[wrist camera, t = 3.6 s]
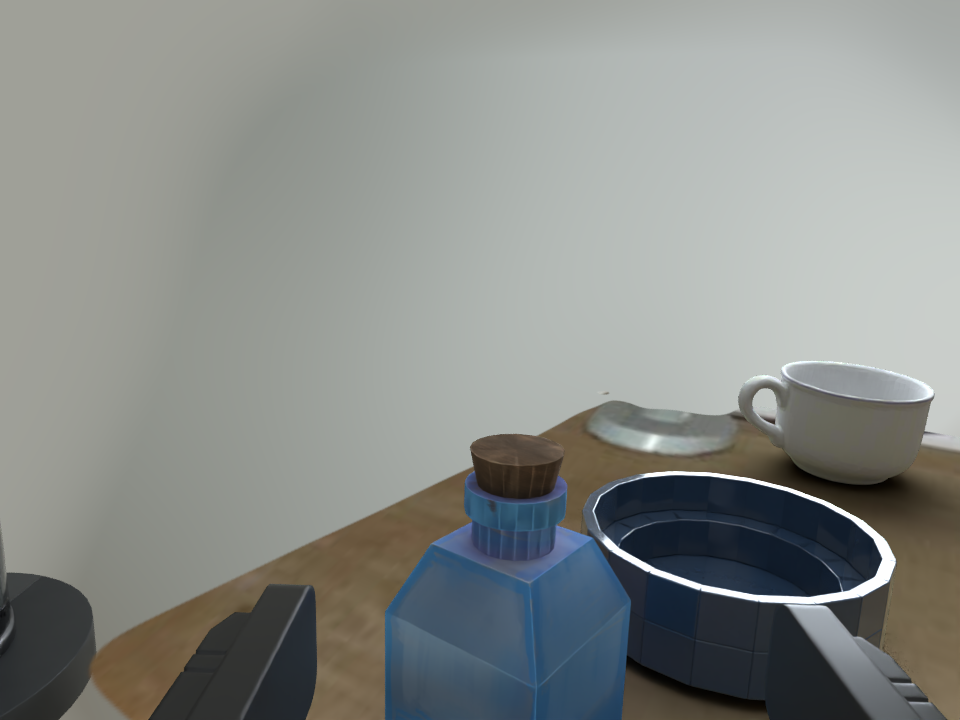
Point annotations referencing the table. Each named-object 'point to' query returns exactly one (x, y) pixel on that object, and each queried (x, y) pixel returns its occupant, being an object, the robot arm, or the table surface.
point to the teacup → (843, 419)
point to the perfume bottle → (509, 605)
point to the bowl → (732, 570)
